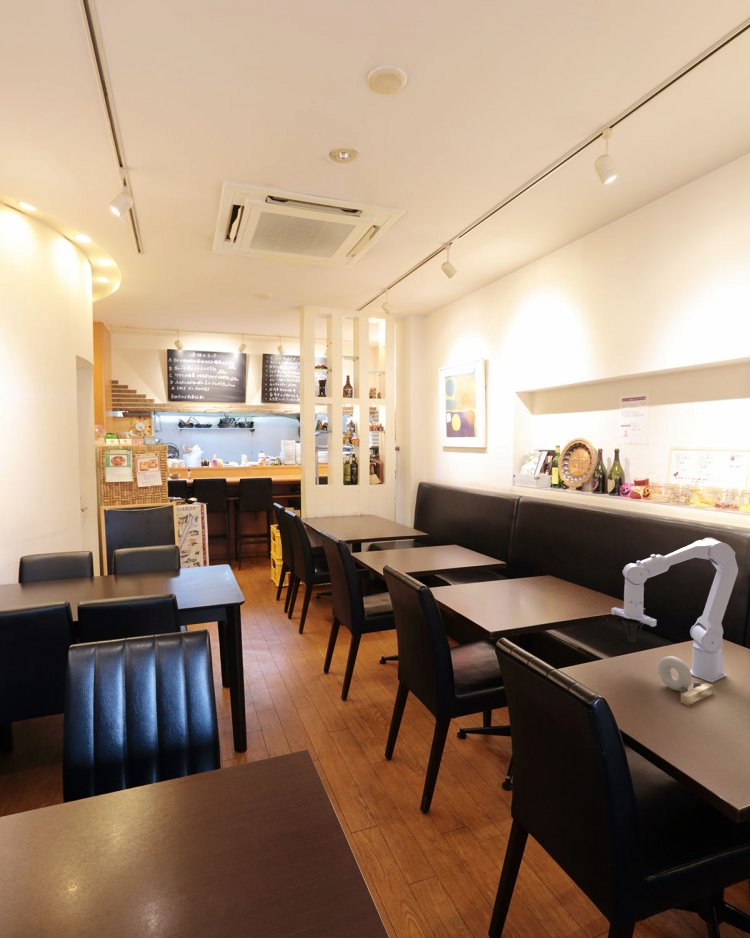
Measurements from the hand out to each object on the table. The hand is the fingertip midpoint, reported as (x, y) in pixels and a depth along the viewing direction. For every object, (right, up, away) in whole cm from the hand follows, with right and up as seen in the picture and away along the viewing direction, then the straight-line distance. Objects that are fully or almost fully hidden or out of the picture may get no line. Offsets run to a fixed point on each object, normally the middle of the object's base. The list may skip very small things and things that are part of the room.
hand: (632, 641), depth 172 cm
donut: (+6, -10, -13) cm, 18 cm away
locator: (+9, -10, -18) cm, 23 cm away
